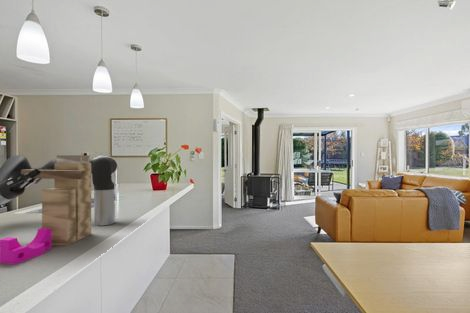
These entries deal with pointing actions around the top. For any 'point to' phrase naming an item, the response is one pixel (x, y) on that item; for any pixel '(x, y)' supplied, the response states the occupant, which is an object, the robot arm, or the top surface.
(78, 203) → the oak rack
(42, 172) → the walnut bar
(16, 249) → the toy block
